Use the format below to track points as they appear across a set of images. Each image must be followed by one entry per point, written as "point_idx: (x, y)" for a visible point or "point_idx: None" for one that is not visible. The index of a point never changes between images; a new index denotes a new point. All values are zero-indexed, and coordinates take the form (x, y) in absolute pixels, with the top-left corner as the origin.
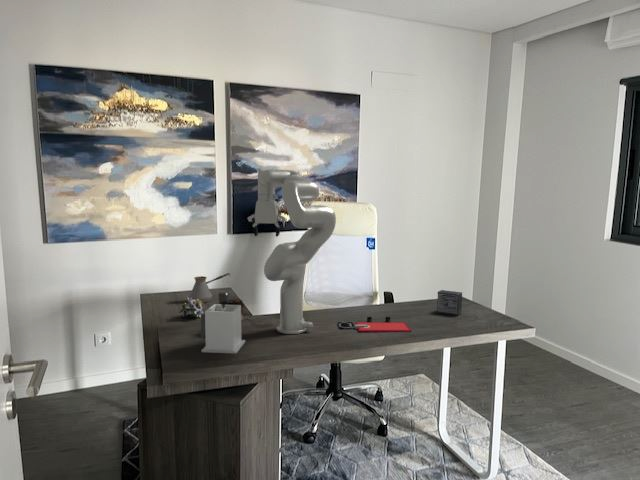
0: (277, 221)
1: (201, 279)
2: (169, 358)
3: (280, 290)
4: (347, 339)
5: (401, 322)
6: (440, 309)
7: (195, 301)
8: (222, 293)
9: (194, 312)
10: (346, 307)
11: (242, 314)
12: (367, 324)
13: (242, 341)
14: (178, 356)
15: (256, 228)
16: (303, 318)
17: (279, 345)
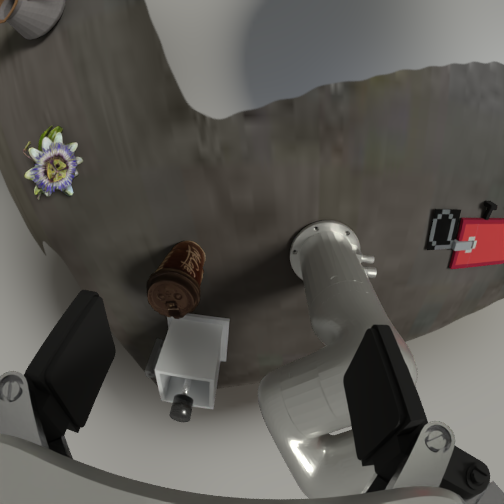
0: (444, 500)
1: (9, 16)
2: (141, 363)
3: (311, 324)
4: (416, 302)
5: None
6: None
7: (45, 160)
8: (179, 419)
9: (68, 193)
10: (472, 65)
11: (201, 280)
12: (477, 233)
13: (225, 327)
14: (148, 359)
15: (80, 411)
16: (360, 257)
17: (295, 332)
